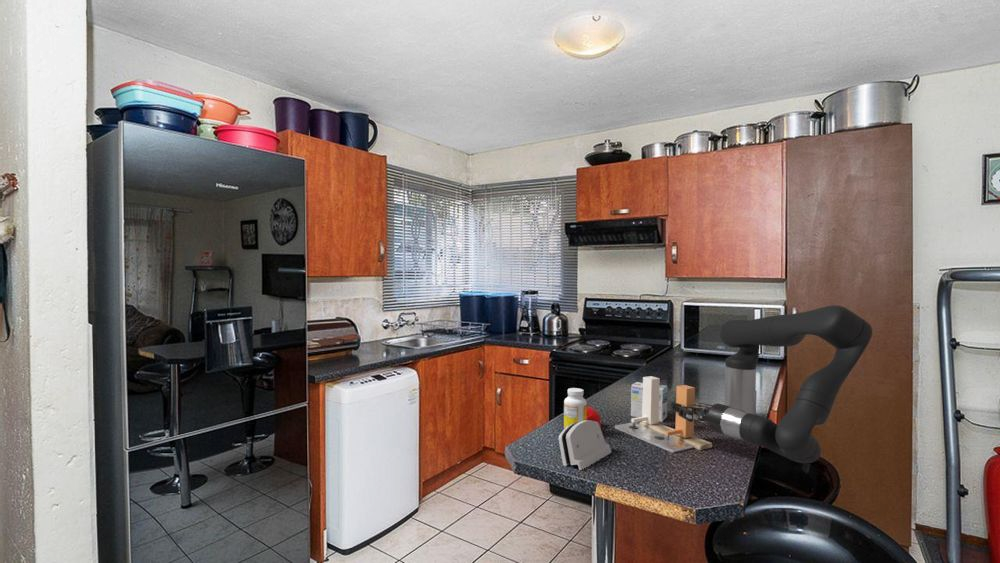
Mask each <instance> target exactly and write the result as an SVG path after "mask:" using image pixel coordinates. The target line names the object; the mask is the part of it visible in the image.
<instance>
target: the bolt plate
mask: <svg viewBox="0 0 1000 563" xmlns="http://www.w3.org/2000/svg"><path fill="white" fill-rule="evenodd" d="M614 429H615V430H618V431H621V432H623V433H625V434H628V435H630V436H632V437H634V438H637V439H639V440H642V441H643V442H646V443H648V444H651V445H653V446H656V447H658V448H661V449H663V450H665V451H667V452H670V453H672V454H674V453H678V452H681V451H686V450H690V449H693V445H691V444H688V443H686V442H683V441H681V440H678V439H676V438H673V437H670V436H669V440H666V435H665V434H663V433H660V432H658V431H655V430H653V429H650V428H647V427H645V426H642V425H640V424H639V423H638V422H635V427H633V426H632V422H627V423H621V424H616V425H614Z"/></svg>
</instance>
